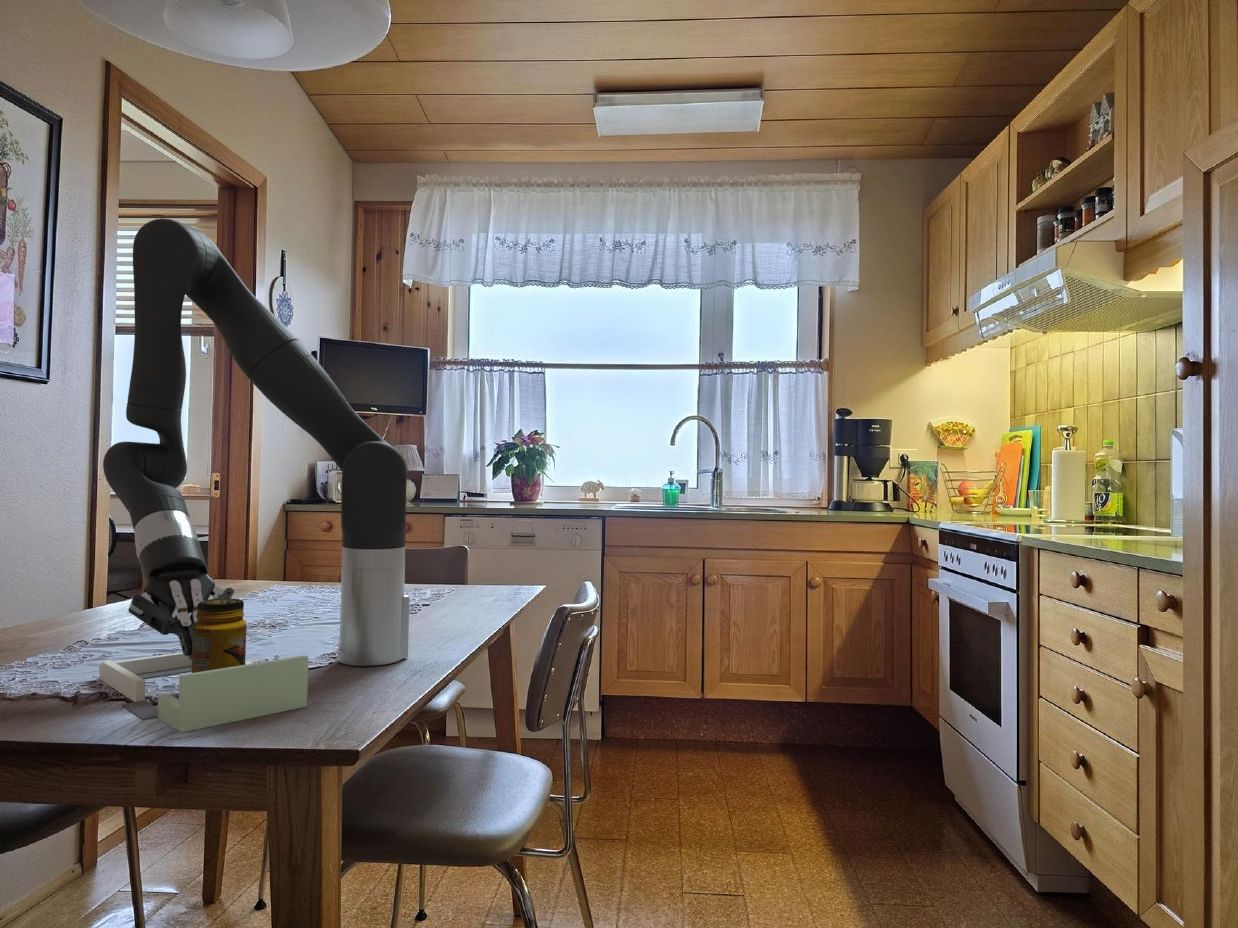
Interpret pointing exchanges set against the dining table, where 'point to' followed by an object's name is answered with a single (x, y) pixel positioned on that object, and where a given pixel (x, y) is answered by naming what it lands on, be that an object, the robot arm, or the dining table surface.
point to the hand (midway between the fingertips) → (198, 655)
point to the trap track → (210, 689)
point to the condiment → (218, 635)
